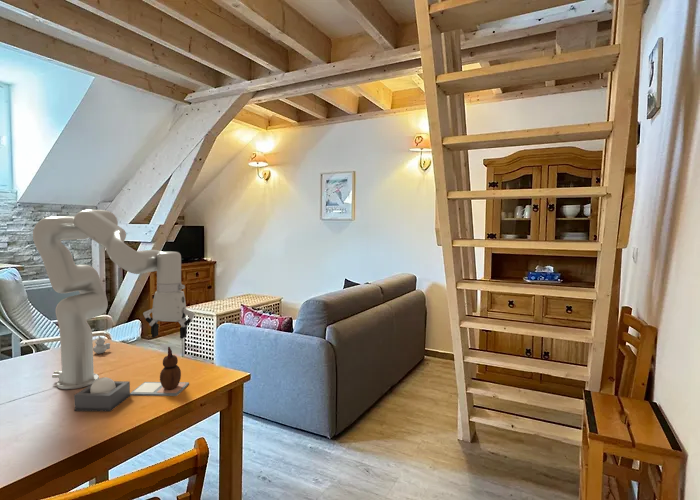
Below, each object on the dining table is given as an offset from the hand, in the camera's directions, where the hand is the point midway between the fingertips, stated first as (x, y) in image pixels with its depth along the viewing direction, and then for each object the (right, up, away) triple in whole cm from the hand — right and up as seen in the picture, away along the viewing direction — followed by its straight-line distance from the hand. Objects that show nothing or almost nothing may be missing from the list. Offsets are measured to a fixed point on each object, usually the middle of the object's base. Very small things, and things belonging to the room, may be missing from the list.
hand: (169, 337), depth 140 cm
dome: (-17, -18, -10) cm, 26 cm away
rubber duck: (-47, -16, +40) cm, 64 cm away
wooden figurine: (0, -18, +1) cm, 18 cm away
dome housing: (-17, -19, -10) cm, 27 cm away
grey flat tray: (-4, -19, +1) cm, 19 cm away
